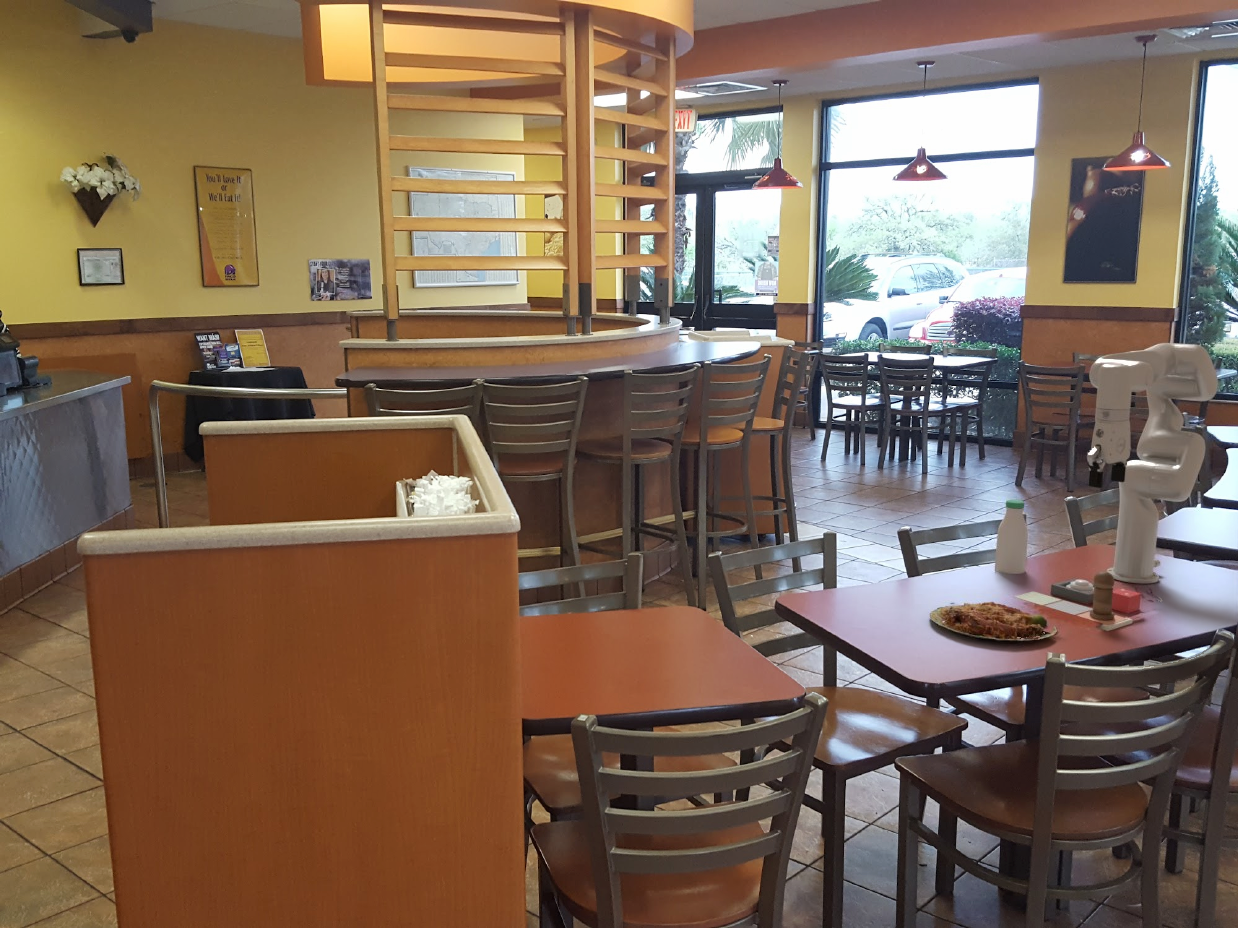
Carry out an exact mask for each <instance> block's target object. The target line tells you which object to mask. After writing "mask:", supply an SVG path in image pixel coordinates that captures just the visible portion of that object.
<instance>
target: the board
mask: <svg viewBox="0 0 1238 928" xmlns="http://www.w3.org/2000/svg"><path fill="white" fill-rule="evenodd" d="M1013 598H1015V599H1019V600H1022V601H1026V602H1029V603H1033V604H1037V605H1039V606H1044V607H1046V608H1049V609H1053V610H1056V611H1059V612H1062V613H1066V614H1070V615H1073V616H1075V615H1076V617H1080V618H1083V619H1086V620H1090V621H1093V622H1097V623H1100V625H1096V626H1095V628H1096V629H1098V630H1099V629H1100V630H1103V631H1106V632H1109V631H1113V630H1115V629H1118V628H1122V627H1125V626H1128V625H1131V624H1133V621H1134V620H1133V618H1130V617H1128V616H1126V617H1123V616H1120V615H1117V614H1114V619H1113V620H1098V619H1094V618H1091V617H1090V611H1091V610H1093V607H1089V606H1085V605H1081V604H1078V603H1076V602H1075V603H1074V602H1072V601H1067V600H1063V599H1061V598H1057V597H1054V596H1049V595H1047V594H1043V593H1041V592H1036V591H1030V592H1026V593H1023V594H1018V595H1014V596H1013Z"/></svg>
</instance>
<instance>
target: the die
mask: <svg viewBox="0 0 1238 928" xmlns="http://www.w3.org/2000/svg"><path fill="white" fill-rule="evenodd" d="M1141 598H1142V594H1141V593H1140V592H1136V591H1132V590H1128V589H1125V588H1121V587H1120V588H1117V589H1115V590H1114V589H1113V598H1112V610H1115V611H1118V612H1122V613H1126V614H1129V613H1132V612H1135V611H1139V610H1140V605H1141ZM1136 615H1139V613H1135V614H1132V615H1130V616H1128V618H1130V617H1133V616H1136Z"/></svg>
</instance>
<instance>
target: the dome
mask: <svg viewBox="0 0 1238 928" xmlns="http://www.w3.org/2000/svg"><path fill="white" fill-rule="evenodd" d="M1089 582H1090V581H1088V580H1085V579H1080V580H1075V581H1073V582H1071V583H1070V584H1069V585H1067V586H1066V587H1068V588H1072V589H1075V590H1079V591H1082V592H1086V593H1088V592H1091V591H1094V587H1093V585H1092V584H1091V583H1092V582H1091V583H1089Z"/></svg>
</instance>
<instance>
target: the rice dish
mask: <svg viewBox="0 0 1238 928" xmlns="http://www.w3.org/2000/svg"><path fill="white" fill-rule="evenodd" d="M929 617H930V620H931V621H933V622H934V623H935V624H938V626H941V627H943V628H946V629H948V630H951V631H953V632H954V633H958V634H961V635H965V636H968V637H972V638H979V639H989V640H994V641H999V642H1001V641H1008V642H1013V641H1015V642H1016V641H1017V642H1019V641H1021V642H1031V641H1035V640H1039V641H1040V639H1041V640H1042V639H1045V638H1050V637H1052V636H1054V635H1056V634H1057V633H1058V630H1057V626H1056V625H1055V626H1053V631H1052V632H1048V631H1045V630H1044V627H1046V626H1047V625H1048V621H1047V619H1046V618H1045V617H1044V616H1043V615H1040V614H1035V615H1031V614H1030V613H1028V612H1023V610H1021V608H1016V607H1013V606H1007V605H1005V604H1001V603H995V602H993V601H989V602H986V601H985V602H982V603H981V602H979V603H978V602H977V603H968V602H963V605H959V604H958V605H946V606H941V607H938V608H935V609H933V610H932V611H931V612H930V613H929ZM1043 632H1045V634H1044V635H1043ZM1036 636H1040V638H1038V639H1034V638H1027V639H1020V638H1017V637H1021V638H1026V637H1036Z"/></svg>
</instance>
